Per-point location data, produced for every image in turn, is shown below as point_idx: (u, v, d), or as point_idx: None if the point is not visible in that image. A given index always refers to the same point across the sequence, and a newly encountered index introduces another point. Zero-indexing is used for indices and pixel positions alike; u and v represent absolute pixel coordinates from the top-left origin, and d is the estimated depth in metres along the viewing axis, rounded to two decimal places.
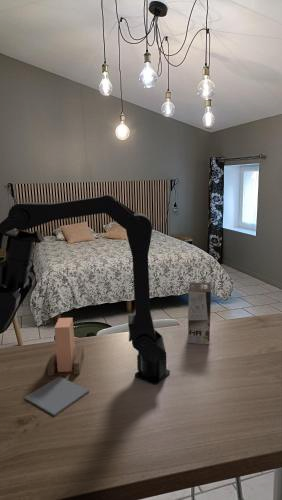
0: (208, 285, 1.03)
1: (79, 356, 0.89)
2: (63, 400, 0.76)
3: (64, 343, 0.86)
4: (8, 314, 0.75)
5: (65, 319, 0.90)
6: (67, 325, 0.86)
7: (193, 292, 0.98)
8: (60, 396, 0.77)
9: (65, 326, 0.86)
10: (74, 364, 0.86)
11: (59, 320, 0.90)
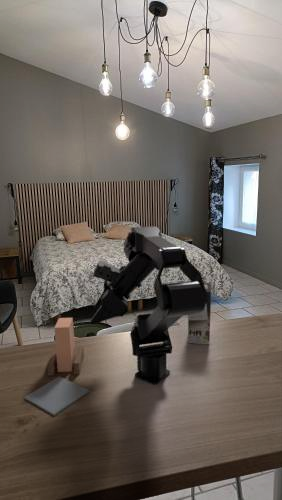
0: (208, 285, 1.03)
1: (79, 356, 0.89)
2: (63, 400, 0.76)
3: (64, 343, 0.86)
4: (108, 316, 0.82)
5: (65, 319, 0.90)
6: (67, 325, 0.86)
7: None
8: (60, 396, 0.77)
9: (65, 326, 0.86)
10: (74, 364, 0.86)
11: (59, 320, 0.90)
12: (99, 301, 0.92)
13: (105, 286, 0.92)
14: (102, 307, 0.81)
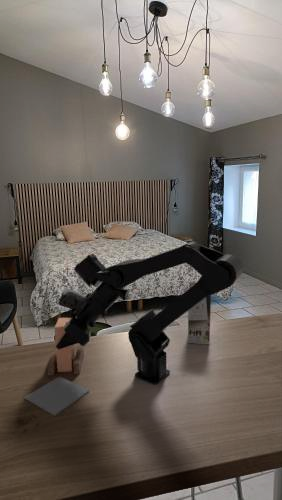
0: None
1: (79, 356, 0.89)
2: (63, 400, 0.76)
3: None
4: (72, 342, 0.85)
5: (65, 319, 0.90)
6: None
7: None
8: (60, 396, 0.77)
9: None
10: (74, 364, 0.86)
11: (59, 320, 0.90)
12: None
13: (72, 314, 0.92)
14: (66, 333, 0.84)
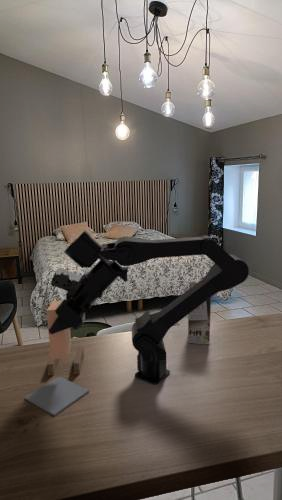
0: None
1: (79, 356, 0.89)
2: (63, 400, 0.76)
3: None
4: (66, 326, 0.77)
5: (59, 302, 0.83)
6: None
7: None
8: (60, 396, 0.77)
9: None
10: (74, 364, 0.86)
11: (53, 303, 0.83)
12: None
13: (67, 297, 0.85)
14: (59, 316, 0.77)
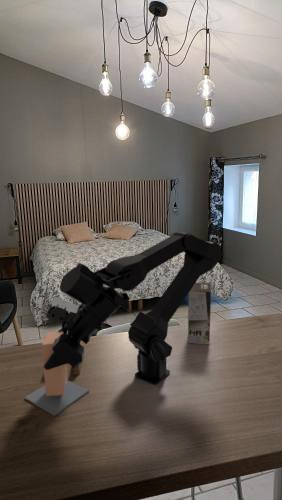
0: (208, 285, 1.03)
1: None
2: (63, 400, 0.76)
3: None
4: (63, 361, 0.72)
5: (54, 334, 0.77)
6: None
7: (193, 292, 0.98)
8: (60, 396, 0.77)
9: None
10: None
11: (48, 335, 0.77)
12: None
13: (63, 327, 0.79)
14: None
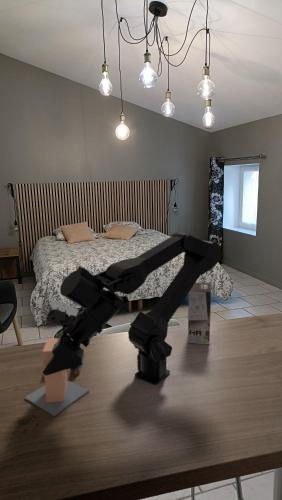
0: (208, 285, 1.03)
1: None
2: (63, 400, 0.76)
3: None
4: (62, 367, 0.71)
5: (55, 340, 0.77)
6: None
7: (193, 292, 0.98)
8: None
9: None
10: None
11: (48, 341, 0.77)
12: None
13: (64, 328, 0.80)
14: (54, 357, 0.70)
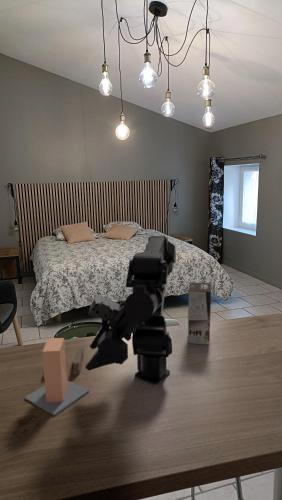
0: (208, 285, 1.03)
1: (79, 356, 0.89)
2: (63, 400, 0.76)
3: (54, 369, 0.74)
4: (105, 362, 0.71)
5: (55, 340, 0.77)
6: (57, 348, 0.74)
7: (193, 292, 0.98)
8: None
9: (55, 349, 0.74)
10: (74, 364, 0.86)
11: (48, 341, 0.77)
12: (96, 339, 0.81)
13: (103, 322, 0.81)
14: (99, 352, 0.70)
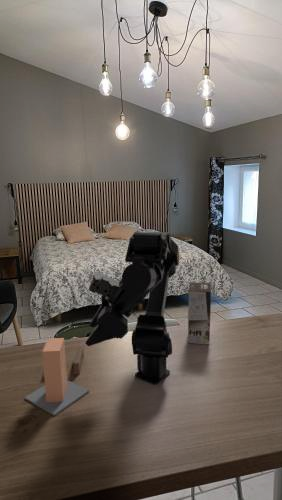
0: (208, 285, 1.03)
1: (79, 356, 0.89)
2: (63, 400, 0.76)
3: (54, 369, 0.74)
4: (105, 337, 0.71)
5: (55, 340, 0.77)
6: (57, 348, 0.74)
7: (193, 292, 0.98)
8: None
9: (55, 349, 0.74)
10: (74, 364, 0.86)
11: (48, 341, 0.77)
12: (96, 317, 0.81)
13: (103, 300, 0.81)
14: (99, 327, 0.70)
